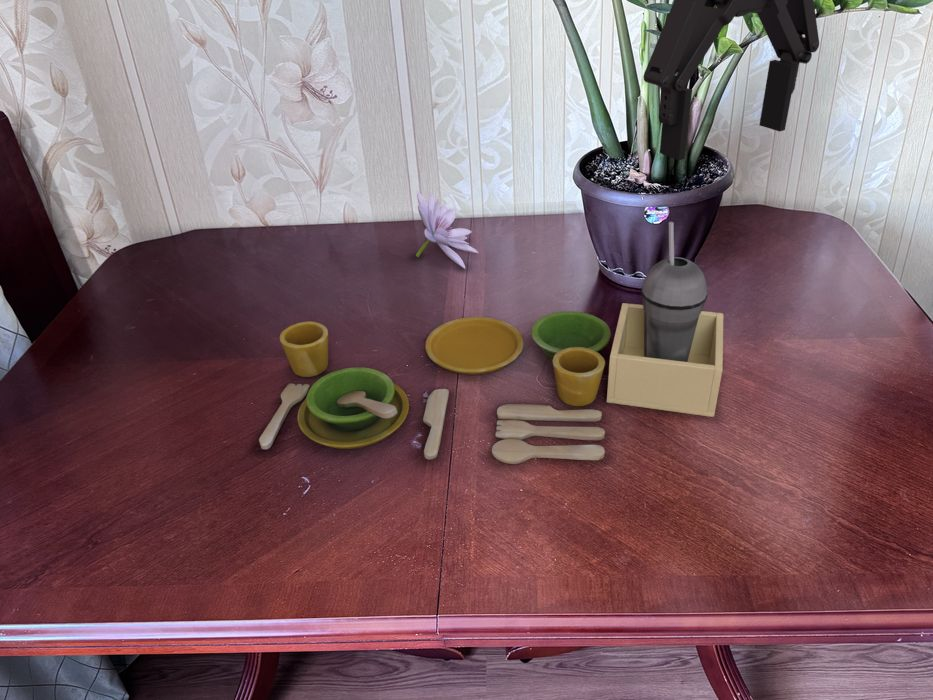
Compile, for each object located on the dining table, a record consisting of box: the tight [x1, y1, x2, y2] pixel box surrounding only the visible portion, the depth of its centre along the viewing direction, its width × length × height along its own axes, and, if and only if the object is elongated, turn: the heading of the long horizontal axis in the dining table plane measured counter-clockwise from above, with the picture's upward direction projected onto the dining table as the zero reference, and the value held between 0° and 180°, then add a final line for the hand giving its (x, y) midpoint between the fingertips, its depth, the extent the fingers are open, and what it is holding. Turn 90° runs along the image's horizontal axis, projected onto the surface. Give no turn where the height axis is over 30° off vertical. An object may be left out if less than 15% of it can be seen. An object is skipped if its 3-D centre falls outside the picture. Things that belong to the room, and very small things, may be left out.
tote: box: [606, 302, 724, 418], centre depth 87 cm, size 12×12×7 cm
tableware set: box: [258, 310, 612, 465], centre depth 89 cm, size 41×28×6 cm
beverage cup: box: [640, 221, 708, 362], centre depth 83 cm, size 7×7×20 cm
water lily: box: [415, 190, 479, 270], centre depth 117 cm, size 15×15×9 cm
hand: (723, 141), depth 74 cm, fingers open, 13 cm apart
